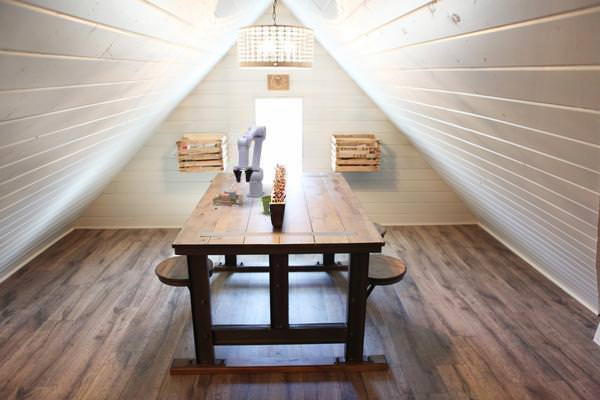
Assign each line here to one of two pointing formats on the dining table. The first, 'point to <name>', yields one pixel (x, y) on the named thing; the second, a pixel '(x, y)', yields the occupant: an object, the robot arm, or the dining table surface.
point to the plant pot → (266, 203)
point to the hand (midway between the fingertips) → (243, 182)
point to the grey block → (233, 193)
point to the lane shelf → (224, 203)
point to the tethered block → (228, 198)
